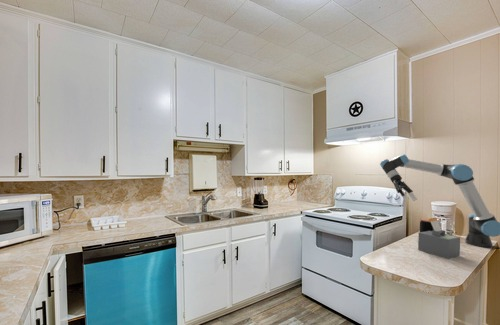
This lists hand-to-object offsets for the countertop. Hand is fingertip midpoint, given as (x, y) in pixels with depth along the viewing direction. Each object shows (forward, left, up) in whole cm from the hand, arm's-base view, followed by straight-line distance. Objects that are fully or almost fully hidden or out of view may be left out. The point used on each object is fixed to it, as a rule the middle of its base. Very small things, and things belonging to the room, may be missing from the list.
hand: (411, 199), depth 181 cm
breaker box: (0, +19, -33) cm, 38 cm away
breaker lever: (0, +19, -20) cm, 28 cm away
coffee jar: (-17, +4, -34) cm, 38 cm away
